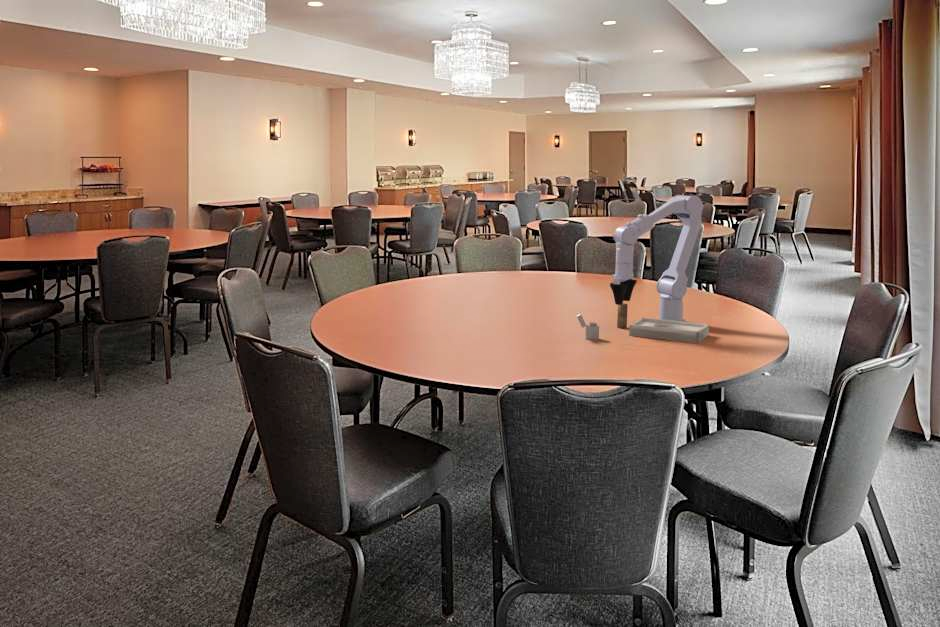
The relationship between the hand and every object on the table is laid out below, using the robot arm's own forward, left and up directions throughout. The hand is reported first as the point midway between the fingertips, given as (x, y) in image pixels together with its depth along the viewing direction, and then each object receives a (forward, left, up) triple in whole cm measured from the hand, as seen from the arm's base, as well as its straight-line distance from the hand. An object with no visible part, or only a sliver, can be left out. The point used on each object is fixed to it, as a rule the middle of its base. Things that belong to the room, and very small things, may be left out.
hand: (622, 302), depth 243 cm
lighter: (+21, -4, -9) cm, 23 cm away
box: (+3, +17, -9) cm, 19 cm away
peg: (0, 0, -9) cm, 9 cm away
